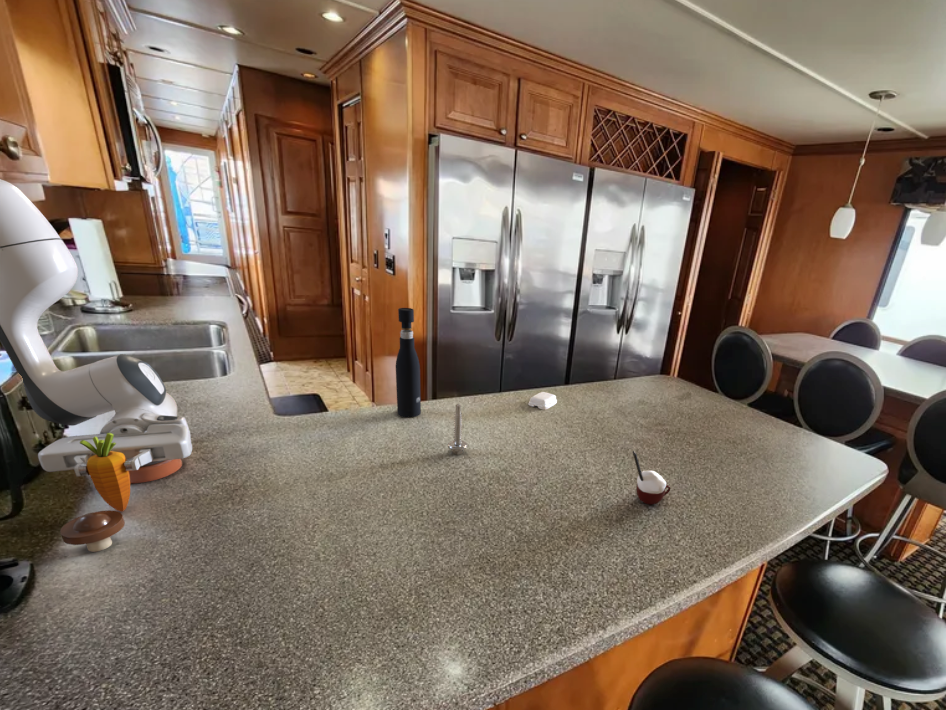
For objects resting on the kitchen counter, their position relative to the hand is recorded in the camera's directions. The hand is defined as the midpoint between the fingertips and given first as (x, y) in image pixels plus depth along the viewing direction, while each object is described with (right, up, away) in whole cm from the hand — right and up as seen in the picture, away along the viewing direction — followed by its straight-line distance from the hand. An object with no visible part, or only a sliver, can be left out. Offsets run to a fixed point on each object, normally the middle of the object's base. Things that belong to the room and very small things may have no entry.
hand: (106, 469), depth 77 cm
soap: (+71, +13, +73) cm, 103 cm away
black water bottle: (+33, +10, +55) cm, 65 cm away
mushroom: (+3, -12, -4) cm, 13 cm away
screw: (+51, 0, +36) cm, 63 cm away
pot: (-8, -2, +17) cm, 19 cm away
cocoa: (+96, -10, +24) cm, 99 cm away
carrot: (-1, -8, +4) cm, 9 cm away
